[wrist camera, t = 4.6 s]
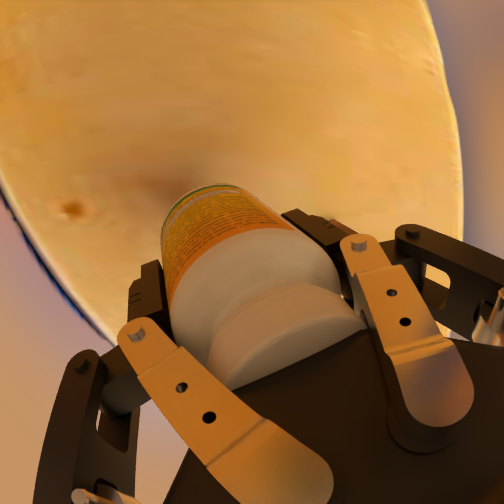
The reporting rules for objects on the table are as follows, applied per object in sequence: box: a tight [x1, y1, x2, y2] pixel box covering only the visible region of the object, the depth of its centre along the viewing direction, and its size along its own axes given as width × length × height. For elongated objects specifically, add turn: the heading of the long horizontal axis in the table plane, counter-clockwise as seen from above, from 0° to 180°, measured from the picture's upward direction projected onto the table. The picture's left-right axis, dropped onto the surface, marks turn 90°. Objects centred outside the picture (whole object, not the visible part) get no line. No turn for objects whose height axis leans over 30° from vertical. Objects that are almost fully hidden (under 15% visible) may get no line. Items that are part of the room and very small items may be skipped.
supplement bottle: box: [161, 183, 368, 391], centre depth 10 cm, size 5×5×10 cm
